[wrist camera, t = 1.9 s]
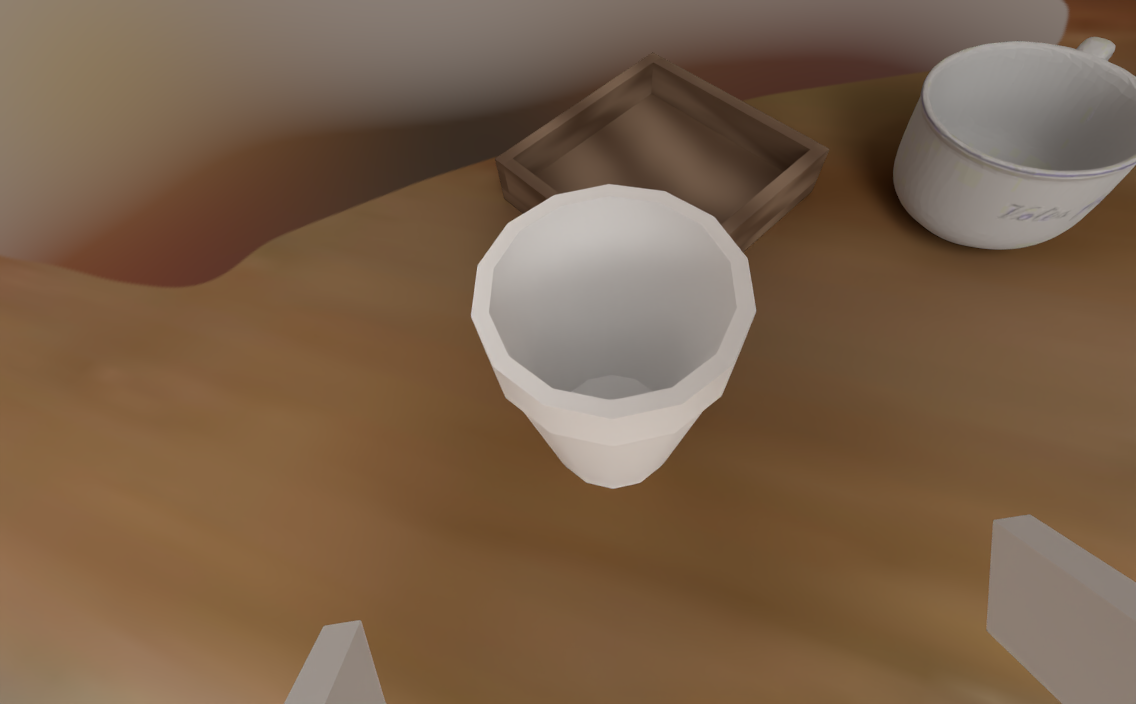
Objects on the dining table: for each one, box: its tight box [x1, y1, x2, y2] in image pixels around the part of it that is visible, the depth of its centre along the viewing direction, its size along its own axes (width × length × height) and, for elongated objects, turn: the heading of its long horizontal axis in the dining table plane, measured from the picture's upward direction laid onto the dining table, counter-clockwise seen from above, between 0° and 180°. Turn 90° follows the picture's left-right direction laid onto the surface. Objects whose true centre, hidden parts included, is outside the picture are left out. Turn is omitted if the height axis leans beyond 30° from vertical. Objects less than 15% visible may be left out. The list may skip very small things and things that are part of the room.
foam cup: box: [471, 184, 756, 489], centre depth 24 cm, size 10×9×13 cm
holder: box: [495, 53, 829, 252], centre depth 37 cm, size 15×15×4 cm
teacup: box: [893, 37, 1136, 249], centre depth 33 cm, size 14×11×8 cm
